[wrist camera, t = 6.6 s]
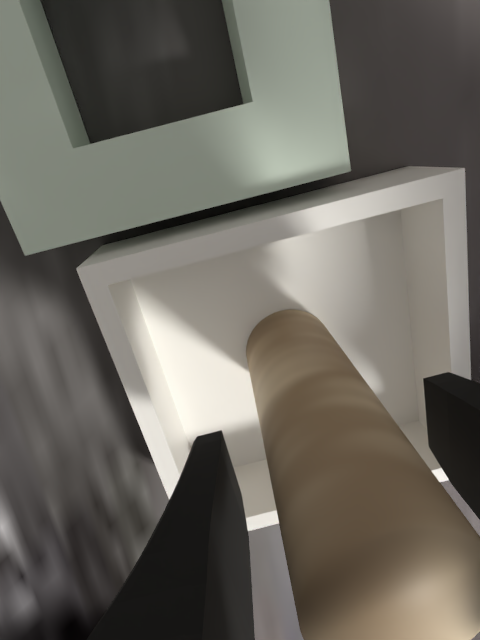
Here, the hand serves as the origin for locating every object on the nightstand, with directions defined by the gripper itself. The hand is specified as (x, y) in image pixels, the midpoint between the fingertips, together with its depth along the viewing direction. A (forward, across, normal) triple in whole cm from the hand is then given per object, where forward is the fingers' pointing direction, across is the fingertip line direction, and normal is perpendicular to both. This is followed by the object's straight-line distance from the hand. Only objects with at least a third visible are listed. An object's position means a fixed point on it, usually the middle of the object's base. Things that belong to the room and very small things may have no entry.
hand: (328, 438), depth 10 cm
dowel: (+5, 0, 0) cm, 5 cm away
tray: (+5, 0, 0) cm, 5 cm away
